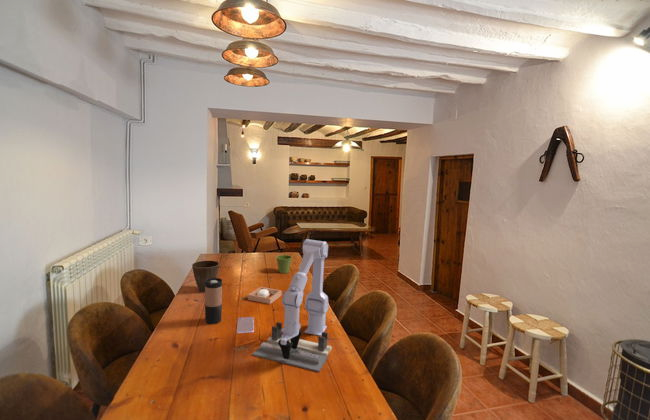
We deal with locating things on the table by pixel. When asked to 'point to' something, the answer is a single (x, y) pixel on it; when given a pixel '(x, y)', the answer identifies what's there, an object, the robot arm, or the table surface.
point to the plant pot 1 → (204, 272)
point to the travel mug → (213, 300)
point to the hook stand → (303, 342)
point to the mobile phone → (245, 325)
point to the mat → (291, 359)
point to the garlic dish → (274, 292)
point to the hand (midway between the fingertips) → (290, 353)
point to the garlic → (263, 293)
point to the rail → (292, 353)
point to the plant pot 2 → (283, 263)
